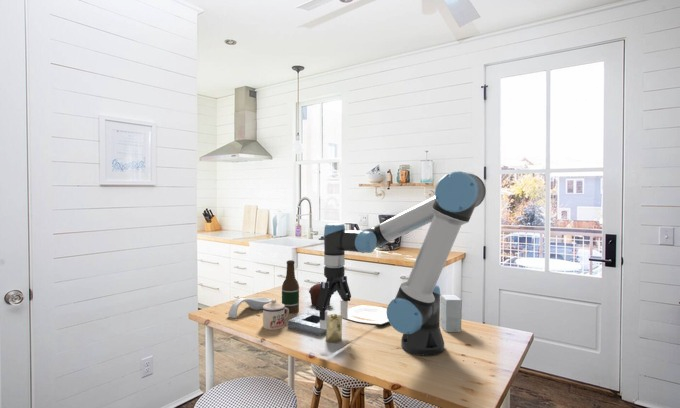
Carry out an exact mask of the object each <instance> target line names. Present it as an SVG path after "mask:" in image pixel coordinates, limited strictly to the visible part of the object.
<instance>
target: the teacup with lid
mask: <svg viewBox="0 0 680 408" xmlns="http://www.w3.org/2000/svg"><path fill="white" fill-rule="evenodd" d="M285 309H286V314H285ZM261 310H262V327H263V328H264V329H265V330H270V331H271V330H279V329H283V328H284V327H285V320H286V319H288V316H289V315H290V314H289V309H288V308H286V307H285V305H284V304H282V302H279V301H277V299H276V298H275V299H274V298H271V302H269V303H268V304H265V305H264V306H263V308H262V309H261Z"/></svg>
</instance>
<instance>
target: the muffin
mask: <svg viewBox="0 0 680 408" xmlns="http://www.w3.org/2000/svg"><path fill="white" fill-rule="evenodd" d="M320 289H321V283H316V284H314V285H313V286H311V287H310V288H309V290H308V293H309V295H310V300H311V301H310V302H311V306H312V307H314V308H316V304H317V300H318V296H319V293H320ZM324 289H325V288H324ZM328 290H329V289H328ZM330 304H331V300H330V301H329V304H328V306H327V307H329V306H330Z"/></svg>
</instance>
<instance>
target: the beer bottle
mask: <svg viewBox="0 0 680 408" xmlns="http://www.w3.org/2000/svg"><path fill="white" fill-rule="evenodd" d="M295 263H296V262H295V260H289V259H288V260H287V261H286V273H285V275H286V276H285V278H284V281H283V282H282V285H281V303H282V304H284V305H285V307H286V308H288V309H289V314H288V315H290V314H296V313H298V312H299V310H300V286H299V282H298V280H297V278H296V275H295V274H296V273H295ZM285 315H286V309H285Z"/></svg>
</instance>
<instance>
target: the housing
mask: <svg viewBox="0 0 680 408" xmlns="http://www.w3.org/2000/svg"><path fill="white" fill-rule="evenodd" d="M287 328H288V329H292V330H295V331H298V332H303V333H305V334H310V335H315V336H318V337H322V336H324V335H326V330H325V329H321V328H320V312H317V311H316V312H315V311H311V310H309V311H306V312H303V313H302V314H299V315H297V316H295V317H293V318H291V319H288V320H287Z"/></svg>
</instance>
